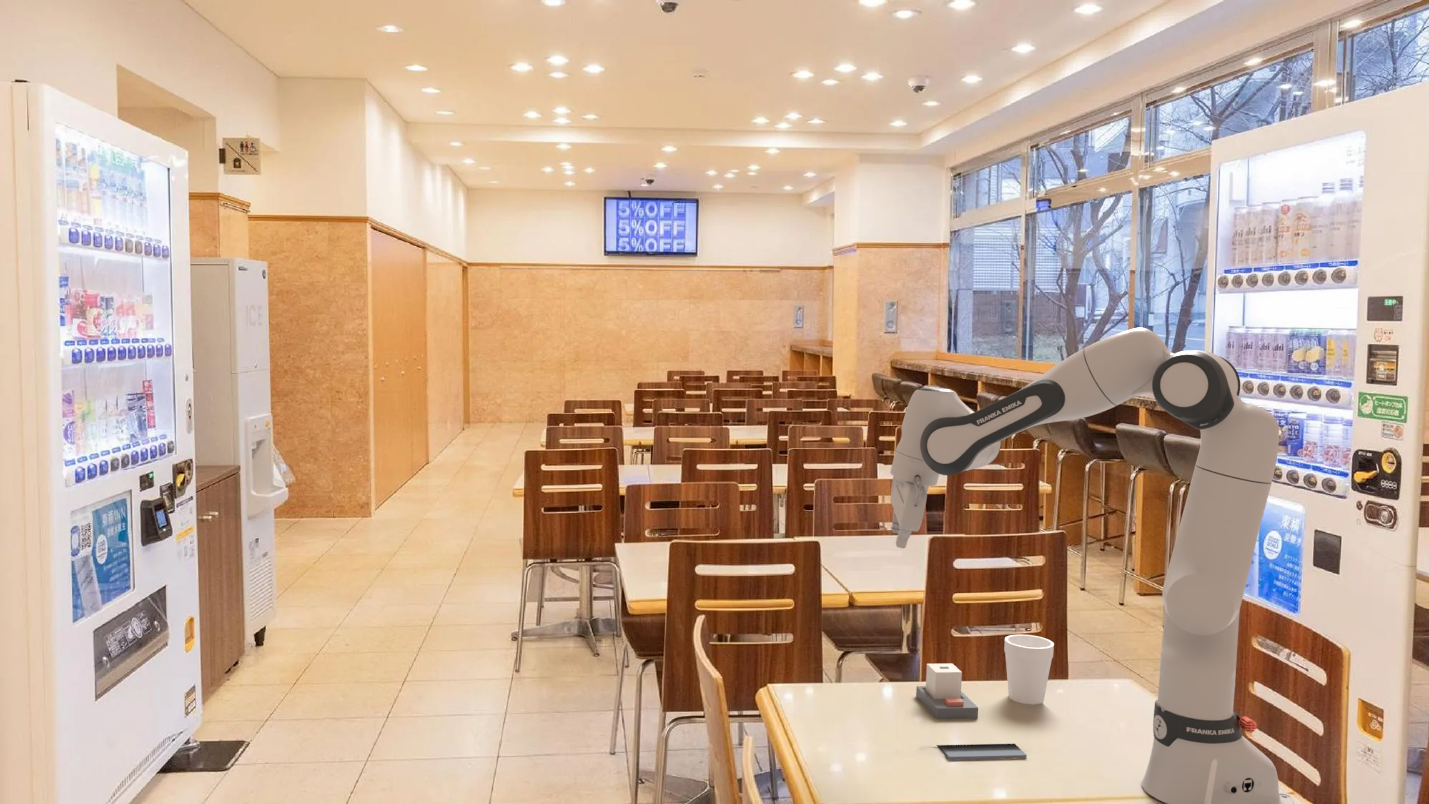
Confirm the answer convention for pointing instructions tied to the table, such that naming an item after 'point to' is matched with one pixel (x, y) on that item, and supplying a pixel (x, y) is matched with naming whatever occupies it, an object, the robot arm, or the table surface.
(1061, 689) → the table surface
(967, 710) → the power strip
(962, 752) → the rubber mat
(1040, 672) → the foam cup
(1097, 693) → the table surface
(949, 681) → the block
